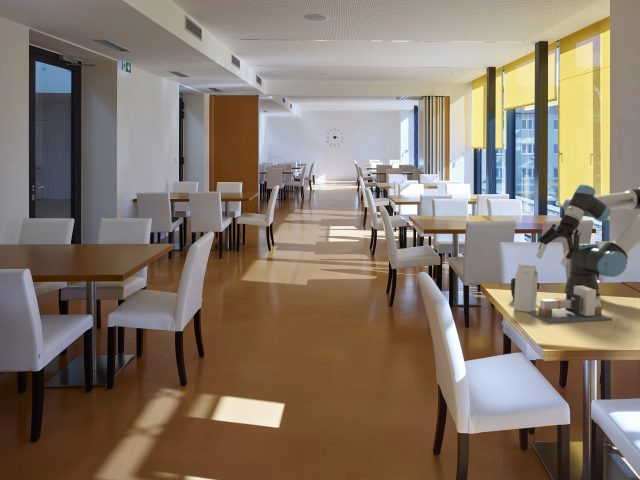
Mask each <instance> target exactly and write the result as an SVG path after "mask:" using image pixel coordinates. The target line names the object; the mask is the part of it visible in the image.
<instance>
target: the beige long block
mask: <svg viewBox="0 0 640 480" xmlns="http://www.w3.org/2000/svg"><path fill="white" fill-rule="evenodd" d="M539 301H540V302H539V303H540V304H539V307H538V311H539V312H538V315H540V316H542V317H544V318H551V317H552V311H553V310H564V309H566V308H574V305H575V298H572V297H571V298H567V299H566V298H548V299H547V298H545V299H540V300H539ZM601 303H602V298H599V297H597V296H596V301H595V315H601V314H602V312H603V311H602V309H603V307H602V306H601ZM580 308H583V298H580Z"/></svg>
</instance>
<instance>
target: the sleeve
mask: <svg viewBox="0 0 640 480" xmlns="http://www.w3.org/2000/svg"><path fill="white" fill-rule="evenodd" d="M574 294H576V295H579V296H580V298H583V308H580V311H579V313H580V314H582V315H585V316H592V315H595V301H596V297H597V295H596V290H594V289H591V288H588V287H585V286H574ZM573 309H574V308H573Z"/></svg>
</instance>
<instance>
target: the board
mask: <svg viewBox="0 0 640 480" xmlns="http://www.w3.org/2000/svg"><path fill="white" fill-rule="evenodd" d="M538 312H539V310H534V311H530V312H528V314H529V315H531V316H533V317H536V318H537V319H540V320H543V321H545V322H546V323H548V324H564V323H566V324H567V323H568V324H569V323H582V322H583V323H584V322H589V321H590V322H606V321H605V320H610V321H613V318H612V317H610V316H607V315H604V314H602V313H601V315H592V316H585V315H582V314H580V313H579V314H574V313H572V312H569V311H567V310H565V309H552V317H551V318H544V317H542V316H540V315H538Z"/></svg>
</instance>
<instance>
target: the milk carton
mask: <svg viewBox="0 0 640 480" xmlns="http://www.w3.org/2000/svg"><path fill="white" fill-rule="evenodd" d="M514 278H515V295H514V301H513V311H519V312H526V313H529V312H530V311H536V309H537V297H538V296H537V295H538V290H537V283H538V279H539V274H538V271H537V266H536V265H531V264H522V263H518V268H517V270H516V272H515V277H514Z"/></svg>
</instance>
